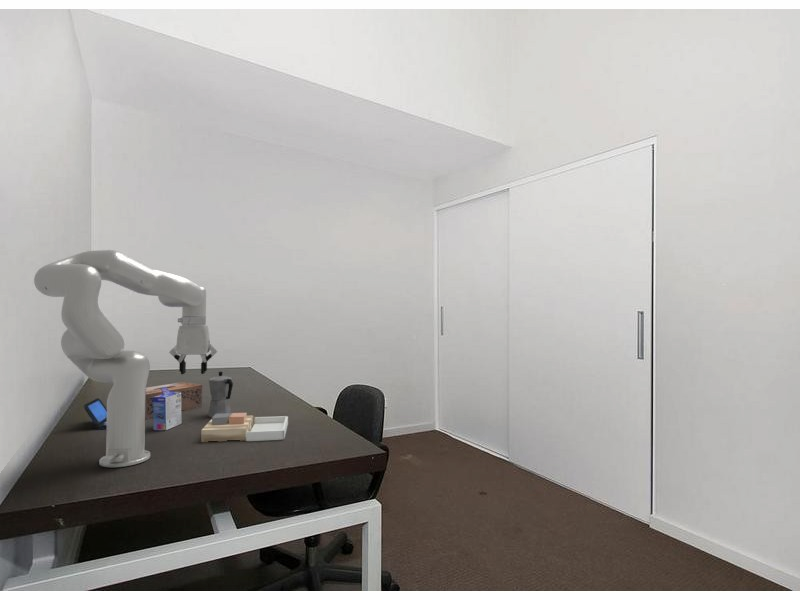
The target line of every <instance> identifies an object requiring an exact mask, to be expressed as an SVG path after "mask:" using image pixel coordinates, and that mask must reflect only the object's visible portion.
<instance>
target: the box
mask: <svg viewBox="0 0 800 600" xmlns="http://www.w3.org/2000/svg"><path fill="white" fill-rule="evenodd" d="M288 426H289V416H288V415H283V416H279V415H278V416H254V417H253V427H252V429H251V431H249V432H246V440H245V441H246V442H261V441H262V442H263V441H280V440H282V441H283V440H285V438H286V433H287V429H288Z"/></svg>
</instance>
